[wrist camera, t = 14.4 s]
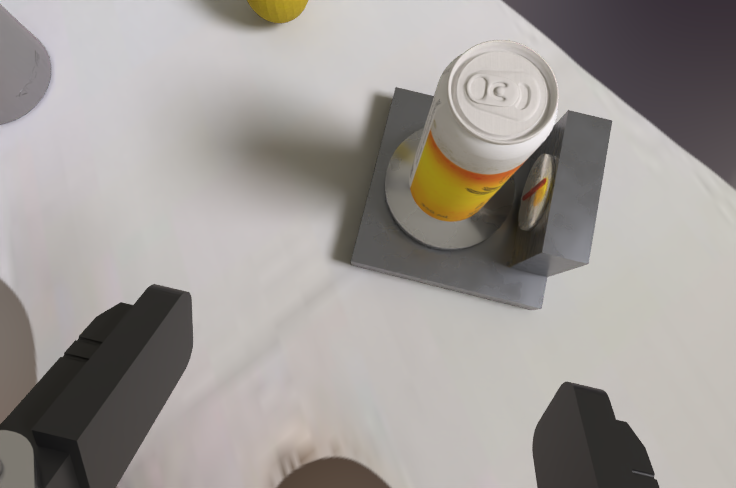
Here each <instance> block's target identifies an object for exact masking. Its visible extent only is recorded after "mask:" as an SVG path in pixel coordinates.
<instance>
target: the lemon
mask: <svg viewBox="0 0 736 488" xmlns="http://www.w3.org/2000/svg"><path fill="white" fill-rule="evenodd" d="M247 1H248V3H249V5H250V6H251V8H252V9H253V10H254V11H255V12H256V13H257V14H258V15H259V16H260V17H262V18H264V19H265V20H267V21H270V22H274V23H285V22H289V21H291V20H294V19H295V18H296V17H298V16H299V15H300V14H301V13H302V11H303V10H304V9H305V7H306V4H307V2H308V0H247Z"/></svg>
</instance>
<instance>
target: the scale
mask: <svg viewBox="0 0 736 488" xmlns="http://www.w3.org/2000/svg"><path fill="white" fill-rule="evenodd" d="M433 98H434V96H431V95H426V94H422V93H418V92H414V91H410V90H405V89H401V88H397V87H396V88H395V92H394V96H393V100H392V104H391V108H390V112H389V115H388V119H387V123H386V127H385V131H384V135H383V139H382V143H381V146H380V150H379V154H378V158H377V162H376V166H375V170H374V174H373V178H372V181H371V185H370V189H369V193H368V197H367V201H366V205H365V209H364V212H363V216H362V220H361V224H360V228H359V232H358V236H357V240H356V243H355V247H354V251H353V255H352V259H351V265H353V266H357V267H361V268H365V269H369V270H373V271H377V272H381V273H385V274H389V275H393V276H397V277H401V278H406V279H410V280H414V281H418V282H422V283H426V284H430V285H434V286H438V287H442V288H446V289H450V290H454V291H458V292H462V293H466V294H470V295H474V296H478V297H482V298H486V299H490V300H494V301H498V302H502V303H506V304H510V305H514V306H518V307H522V308H526V309H530V310H536V309H542V303H543V298H544V292H545V287H546V281H547V277H549V276H552V275H555V274H558V273H562V272H565V271H568V270H571V269H574V268H577V267H580V266H584V265H587V264H588V263H589V257H590V251H591V245H592V239H593V233H594V227H595V221H596V215H597V209H598V203H599V197H600V191H601V185H602V179H603V173H604V167H605V161H606V155H607V149H608V143H609V137H610V131H611V125H612V121H611V120H607V119H603V118H599V117H595V116H590V115H586V114H582V113H578V112H573V111H569V110H568V111H567V112H566V113H565V114H564V115H563V117H562V118H561V119H560V120H559V121H558V122H557V123H556V124H555V125H554V127H553V129H552V131H551V133H550V134H549V136H548V137H547V138H546V140H545V141H544V142H543V143H542V144H541V145H540V146H539V147H538V148H537V149H536V150H535V152H534V153H533V154H532V155H531V156H530V157H529V158H528V159H527V160H526V161H525V162H524V163H523V164H522V165H521V166H520V167H519V169H518V170H517V171H516V172H515V173H514V174H513V175H514V182H515V193H514V200H513V204H512V208H511V210H510V212H509V215H508V216H507V218H506V220H505V221H504V223H503V224H502V225H501V226H500V228H499V229H498V230H497V231H496V232H494V233H493V234H492V235H491V236H490V237H488V238H487V239H485V240H484V241H482V242H481V243H479V244H477V245H474V246H472V247H469V248H465V249H460V250H440V249H435V248H431V247H428V246H425V245H423V244H421V243H419V242H417V241H415V240H414V239H412V238H411V237H410V236H408V235H407V234H406V233H405V232H404V231H403V230H402V229H401V228H400V227H399V226H398V224H397V223H396V222H395V220H394V219H393V217H392V215H391V213H390V211H389V208H388V205H387V201H386V197H385V178H386V173H387V168H388V165H389V162H390V160H391V157H392V155H393V154H394V152H395V151H396V149H397V148H398V146H399V145H400V144H401V143H402V142H403V141H404V140H405V139H406V138H407V137H409V136H410V135H411V134H413V133H415V132H416V131H418V130H420V129H422V128H424V127H425V124H426V120H427V117H428V114H429V111H430V108H431V104H432V101H433Z"/></svg>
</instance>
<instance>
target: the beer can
mask: <svg viewBox="0 0 736 488" xmlns="http://www.w3.org/2000/svg"><path fill="white" fill-rule="evenodd" d="M558 95H559V93H558V85H557V81H556V78H555V75H554V73H553V71H552V69H551V68H550V66H549V65H548V63H547V62H546V61H545V60H544V59H543V58H542V57H541V56H540V55H539V54H538V53H537V52H535V51H534V50H532V49H531V48H529V47H527V46H525V45H522V44H520V43H517V42H513V41H507V40H493V41H487V42H483V43H480V44H478V45H475V46H473V47H472V48H470V49H468V50H467V51H466V52H465V53H463V54H461V55H460V56H458V57H457V58H456V59H454V60H453V61H452V62H451V63H450V64H449V65H448V66H447V68H446V69H445V70H444V72H443V73H442V75H441V77H440V80H439V82H438V85H437V88H436V91H435V95H434V98H433V101H432V104H431V108H430V111H429V114H428V117H427V120H426V124H425V127H424V130H423V133H422V137H421V140H420V143H419V146H418V150H417V153H416V156H415V159H414V162H413V166H412V169H411V173H410V178H409V185H410V191H411V194H412V197H413V199H414V201H415V202H416V204H417V205H418V206H419V208H420V209H421V210H422V211H423V212H425V213H426V214H427V215H429V216H431V217H433V218H435V219H438V220H441V221H447V222H455V221H461V220H464V219H467V218H469V217H471V216H473V215H474V214H475V213H477V212H478V211H479V210H480V209H481V208H482V207H483V206H484V205H485V204H486V202H487V201H488V200H489V199H490V198H491V197H492V196H493V195H494V194H495V193H496V192H497V191H498V190H499V189H500V188H501V187H502V185H503V184H504V183H505V182H506V181H507V180H508V179H509V178H510V177H511V176H512V175H513V174H514V173H515V172H516V171H517V170H518V169H519V167H520V166H521V165H522V164H523V163H524V162H525V161H526V160H527V159H528V158H529V157H530V156H531V155H532V154H533V153H534V152H535V150H536V149H537V148H538V147H539V146H540V145H541V144H542V143H543V142H544V141H545V140H546V138H547V137H548V136H549V134H550V133H551V131H552V129H553V127H554V124H555V121H556V117H557V110H558Z"/></svg>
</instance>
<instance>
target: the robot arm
mask: <svg viewBox="0 0 736 488" xmlns="http://www.w3.org/2000/svg"><path fill="white" fill-rule="evenodd" d="M50 78H51V63H50V57H49V55H48V53H47V51H46V49H45V47H44V46H43V45H42V43H41V42H40V41H39V40H38V39H37V38H36V37H35V36H34V35H33V34H32V33H31V32H30V31H29V30H27V29H26V28H25V27H24V26H23V25H22V24H21V23H20V22H19V21H18V20H17V19H16V18H14V17H13V16H12V15H11V14H10V13H9V12H8V11H7V10H6V9H5V8H4V7H3V6H2V5H1V4H0V124H5V123H8V122H11V121H14V120H16V119H18V118H20V117H22V116H24V115H25V114H27V113H28V112H29V111H30V110H32V109H33V108H34V107H35V106H36V105H37V104H38V103H39V101H40V100H41V99H42V98H43V96H44V94H45V92H46V90H47V88H48V86H49V82H50ZM192 348H193V325H192V300H191V295H190V293H189V292H186V291H182V290H177V289H173V288H169V287H164V286H160V285H156V284H153V285H151V286H149V287H148V288H147V289H146V290H145V292H144V293H143V294H142V295H141V297H140V298H139V299H138V300H137V301H136V303H135V304H134V305H130V304H126V303H119V304H117V305H116V306H114V307H112V308H111V309H109V310H107V311H105V312H104V313H102V314H100V315H99V316H97V317H96V318H95V319H94V320H93V321H92V322H91V323H90V325H89V326H88V327H87V328H86V329H85V330H84V331H83V332H82V334H81V335H80V336H79V339H78V340H77V341H76V340H75V341H74V343H73V344H72V345H71V346H70V347H69V348H68V349H67V350H66V352H65V353H64V356H63V357H60V358H59V359H58V361H57V362H56V363H55V364H54V365H53V366H52V367H51V368H50V370H49V371H48V372H47V373H46V374H45V375H44V376H43V377H42V379H41V380H40V381H39V382H38V383H37V384H36V385H35V387H34V388H33V389H32V390H31V391H30V392H29V393H28V395H26V397H25V398H24V399H23V400H22V401H21V402H20V404H19V405H18V406H17V407H16V408H15V409H14V410H13V411H12V412H11V414H10V415H9V416H8V417H7V418H6V419H5V420H4V421H3V422H2V423H1V424H0V488H115V487H116V486H117V484H118V482H119V481H120V479H121V477H122V476H123V474H124V472H125V471H126V469H127V467H128V465H129V464H130V462H131V460H132V459H133V457H134V455H135V454H136V452H137V450H138V449H139V447H140V445H141V444H142V442H143V440H144V438H145V437H146V435H147V433H148V432H149V430H150V428H151V427H152V425H153V423H154V422H155V420H156V418H157V416H158V415H159V413H160V411H161V410H162V408H163V406H164V405H165V403H166V401H167V400H168V398H169V396H170V394H171V393H172V391H173V389H174V388H175V386H176V384H177V383H178V381H179V379H180V378H181V376H182V374H183V372H184V371H185V369H186V367H187V365H188V362H189V359H190V356H191V353H192ZM533 459H534V466H535V473H536V480H537V487H538V488H659V485H658V482H657V480H656V479H654V475H655V474H654V471H653V468H652V465H651V462H650V460H649V457H648V454H647V451H646V448H645V447H644V445H643V444H642V443H641V441H640V440H639V438H638V437H637V436H636V434H635V433H634V431H633V430H632V429H631V427H630V426H629V425H628V423H627V422H623V421H619V420H616V418H615V415H614V412H613V409H612V406H611V403H610V400H609V397H608V395H607V393H606V392H605V391H603V390H601V389H596V388H592V387H588V386H584V385H579V384H575V383H571V382H564V383H563V384H562V385H561V386H560V388H559V389H558V391H557V393H556V394H555V396H554V398H553V399H552V401H551V402H550V404H549V406H548V407H547V409H546V411H545V412H544V414H543V416H542V417H541V419H540V421H539V422H538V424H537V426H536V429H535V432H534V437H533Z"/></svg>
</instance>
